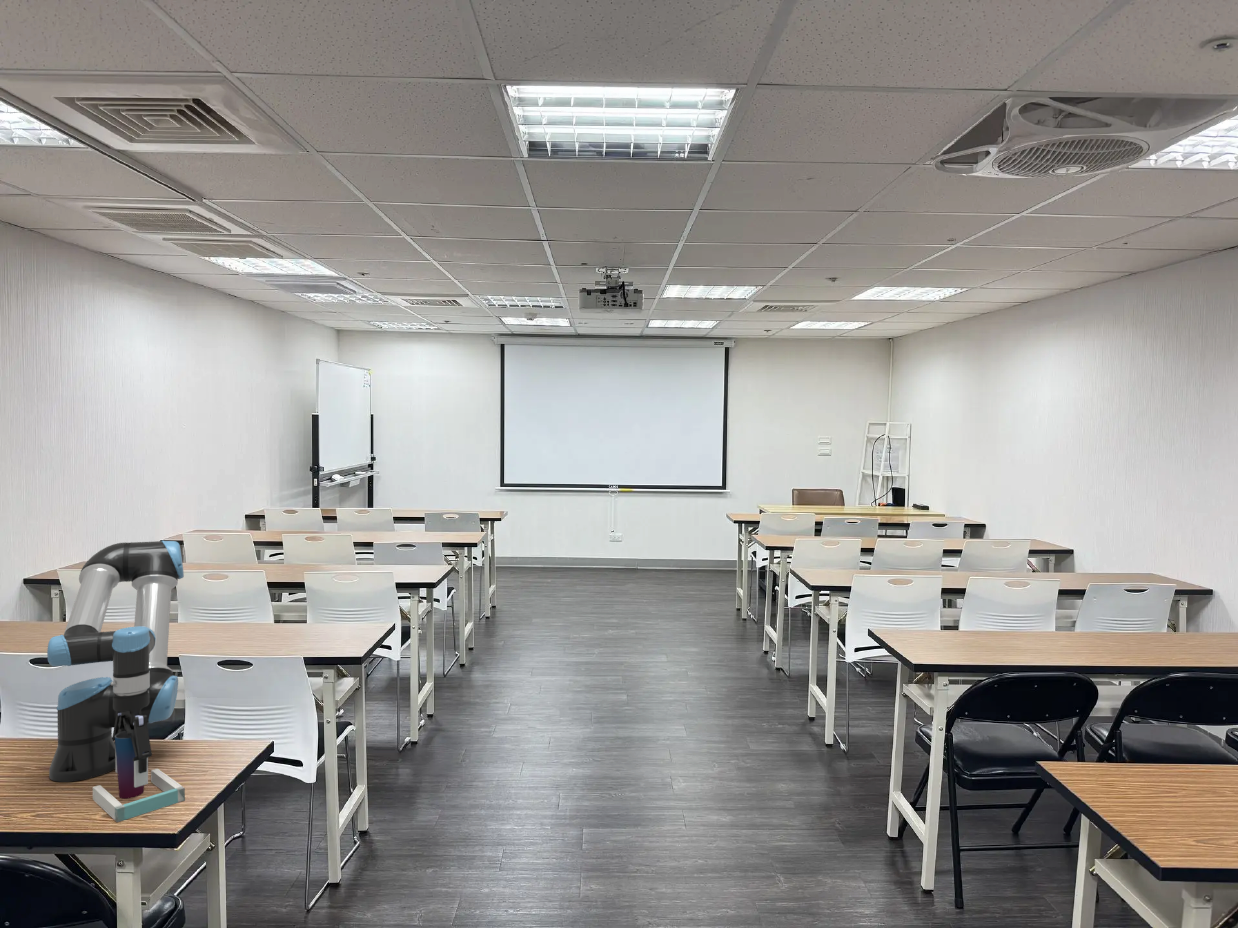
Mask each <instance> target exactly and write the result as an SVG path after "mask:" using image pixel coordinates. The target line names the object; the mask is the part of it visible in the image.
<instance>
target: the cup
mask: <svg viewBox="0 0 1238 928" xmlns="http://www.w3.org/2000/svg"><path fill="white" fill-rule="evenodd" d="M114 742H115V747H116V760H117V773H116V774H117V783H118V797H119V798H120V799H133V798H137V797H139V796H140V795H142V794H143V793H144V791H145V785H142V786H139V787H136V788H135V787H134V761H133V758H134V757H135V753H134V748H133V744H132V740H131V736H130V735H128V734H127V730H126V731H122V732H120V733H118V734H116V735H115V741H114ZM143 753H144V752H143Z"/></svg>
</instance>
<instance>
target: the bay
mask: <svg viewBox="0 0 1238 928" xmlns="http://www.w3.org/2000/svg"><path fill="white" fill-rule="evenodd" d="M150 782H151V784H153V785H154V786H156V787H157V788H158V789H159V790H161V791H162V792H160V793H155V794H153V795H150V796H147V797H143V798H140V799H136V800H134V801H131V802H128V803H124V804H122V803H121V802H120V801H119V800H118V799H116V797H114V796H113V795H112V794H111V792H108V790H106V788H104V787H103V786H102V785H101V784H100V785H95V786H92V801H94V803H96V804H97V805H98V806H99V807H100V808H101V809H102V810H104V811H105V813H107V815H109V817H111V818H112V819H113V820H114V822H116V823H119V822H123V821H126V820H129V819H132V818H134V817H137V816H141V815H144V814H147V813H151V812H153V811H156V810H159V809H162V808H166V807H168V806H172V805H175V804H178V803H181V802H184V801H185V800H186V789H185V787H184V786H183V785H181V784H180V783H178V781H176V780H175V779H174V778H171V777H170V776H169V775H167V774H166V773H165V772H163V771H162V770H160V769H159V768H155V769H151V770H150Z"/></svg>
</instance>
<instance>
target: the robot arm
mask: <svg viewBox="0 0 1238 928" xmlns="http://www.w3.org/2000/svg"><path fill="white" fill-rule="evenodd" d="M181 550H182V549H181V546H180V543H179V542H178V541H176V540H161V541H159V540H157V541H155V540H154V541H139V542H138V541H137V542H132V541H131V542H125V541H124V542H119V543H114V544H111V545H108V546H106V547H104V548H102V549H100V550H99V551H98V552H96V553H95V554H93V555H91V557H90V558H89V559H88V560H86V562H85V563H84V565H83V566H82V568H81V570H80V572H79V577H78V581H79V585H80V586H79V589H78V592H77V594H76V597H75V601H74V603H73V606H72V610H71V611H70V616H69V618H68V621H67V624H66V627H65V630H64V633H63V634H60V635H56V636H52V637H51V638H50V639H49V641H48V644H47V649H46V650H47V652H46V653H47V662H48V663H49V665H50V666H52V667H64V666H65V667H66V666H67V667H71V666H77V665H86V664H95V663H96V664H97V663H106V662H112V671H113V672H112V678H111V677H110V676H109V677H108V676H105V677H103V676H101V677H95V678H91V679H86V680H82V681H79V682H76V683H73V684H70V685H68V686H67V687H65V688H64V689H62V690H60V692H59V694H58V696H57V707H56V710H57V746H56V750H55V753H54V756H53V758H52V761H51V762H50V766H49V771H48V773H49V774H48V775H49V776H48V777H49V778H48V779H49V780H51V781H53V782H59V783H61V782H62V783H65V782H66V783H67V782H69V783H70V782H77V781H82V780H83V781H84V780H88V779H92V778H95V777H98V776H99V777H100V776H101V775H104V774H107V773H110V772H112V771H114V770H115V773H116V774H118V773H117V760H116V747H115V735H116V734H118V733H120V732H122V731H126V730H127V734H128V735H130V736H131V740H132V744H133V748H134V753H135V757H134V758H133V761H134V787H135V788H136V787H139V786H142V785H144V786H145V785H149V758H150V757H152V756H153V752H152V748H151V741H150V740H151V739H150V734H149V727H148V724H153V723H155V722H160V721H161V722H162V721H166V720H168V719H169V718H170V717H172V714H173V712H174V709H175V707H176V701H177V696H178V688H179V677H178V676H177V675H173V674H174V673H173V670H172V668H170V667H169V666H168V649H169V635H170V621H171V620H170V619H171V618H170V616H171V601H172V590H173V589H174V588H175V587H177V586H178V581H179V580H181V579H183V578H184V576H185V575H184V574H185V573H184V564H183V558H182V551H181ZM121 582H122V583H125V582H126V583H129V582H131V587H132V588H134V589H135V590H136V601H135V602H136V603H135V613H134V621H133V622H134V625H133V626H130V627H123V628H120V629H117V630H112V631H110V630H109V631H102V628H103V624H104V621H105V618H106V613H107V611H108V607H109V603H110V601H111V600H110V599H111V596H112V592H113V590H114V588H116V587H117V585H118V584H119V583H121ZM112 730H113V731H112ZM143 752H144V753H143Z"/></svg>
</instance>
